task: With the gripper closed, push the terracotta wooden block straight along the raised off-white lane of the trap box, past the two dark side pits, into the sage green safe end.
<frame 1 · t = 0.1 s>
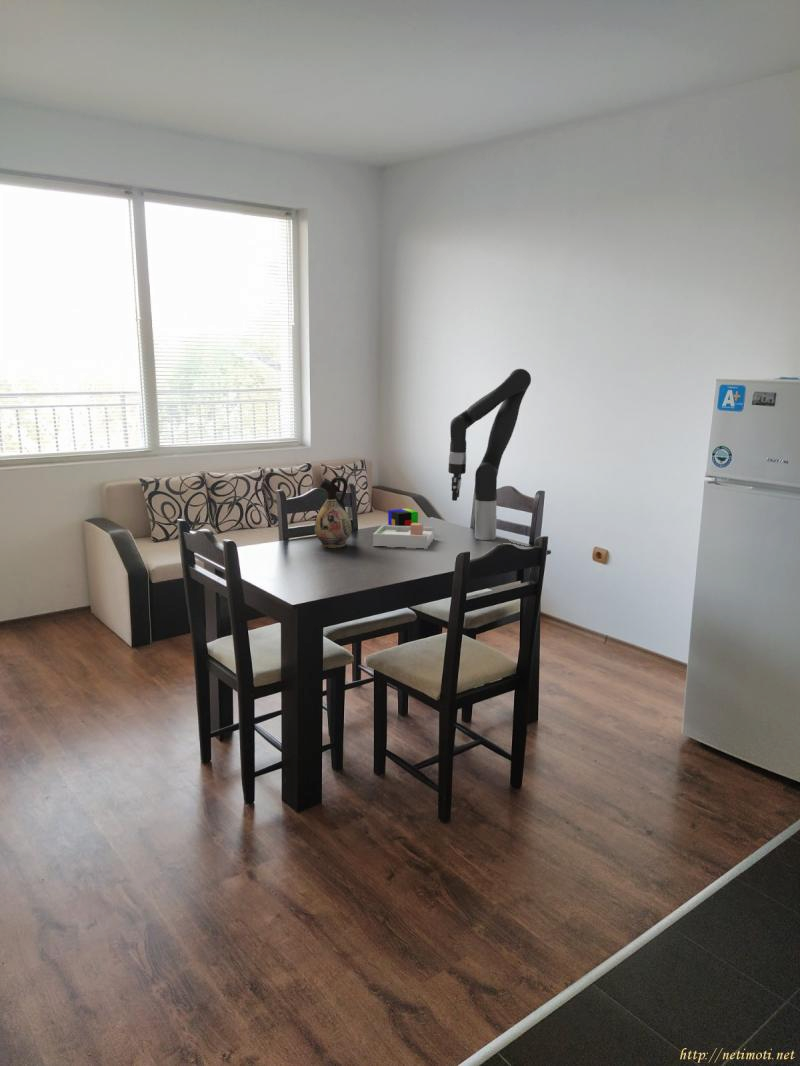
hand: (455, 498, 337), 17 cm above the table, tool pointing down, fingers open, 8 cm apart
ceramic jug: (335, 546, 324), on the table
block: (416, 534, 327), point 4 cm above the table, touching trap box
trap box: (403, 542, 329), on the table
puzzle toy: (402, 532, 350), on the table
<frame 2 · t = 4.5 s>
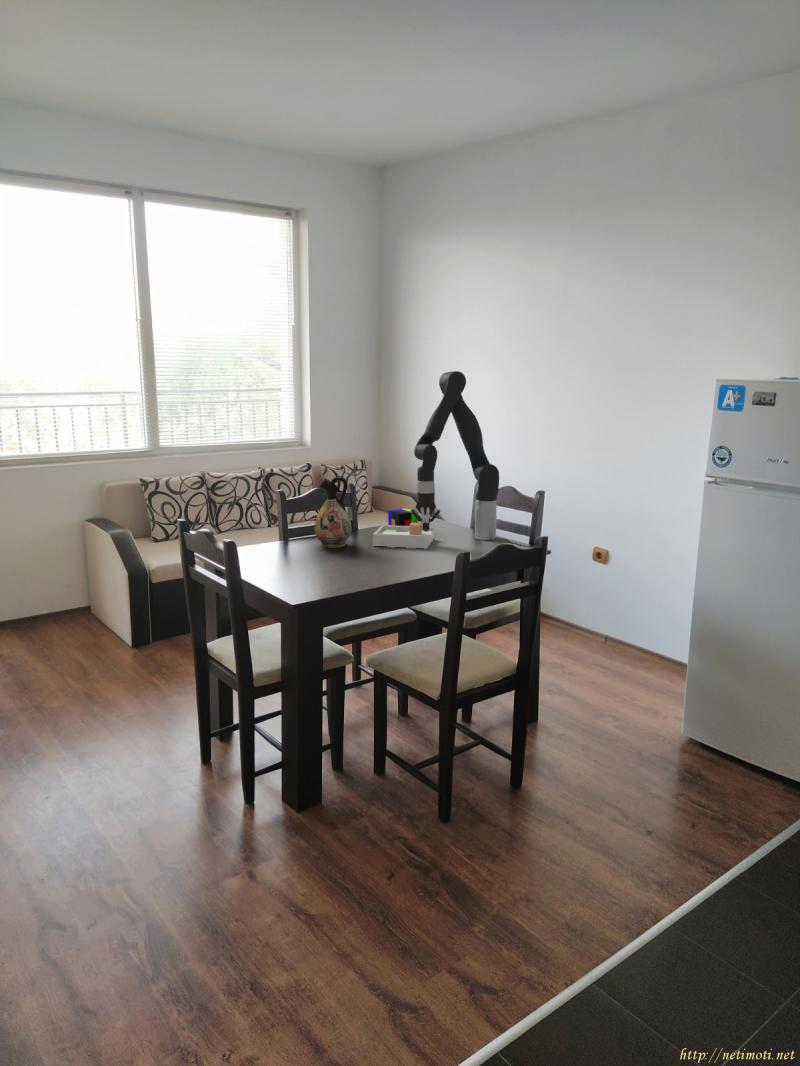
hand: (425, 531, 326), 6 cm above the table, tool pointing down, fingers closed
block: (415, 534, 328), point 4 cm above the table, touching gripper
everything else where it was.
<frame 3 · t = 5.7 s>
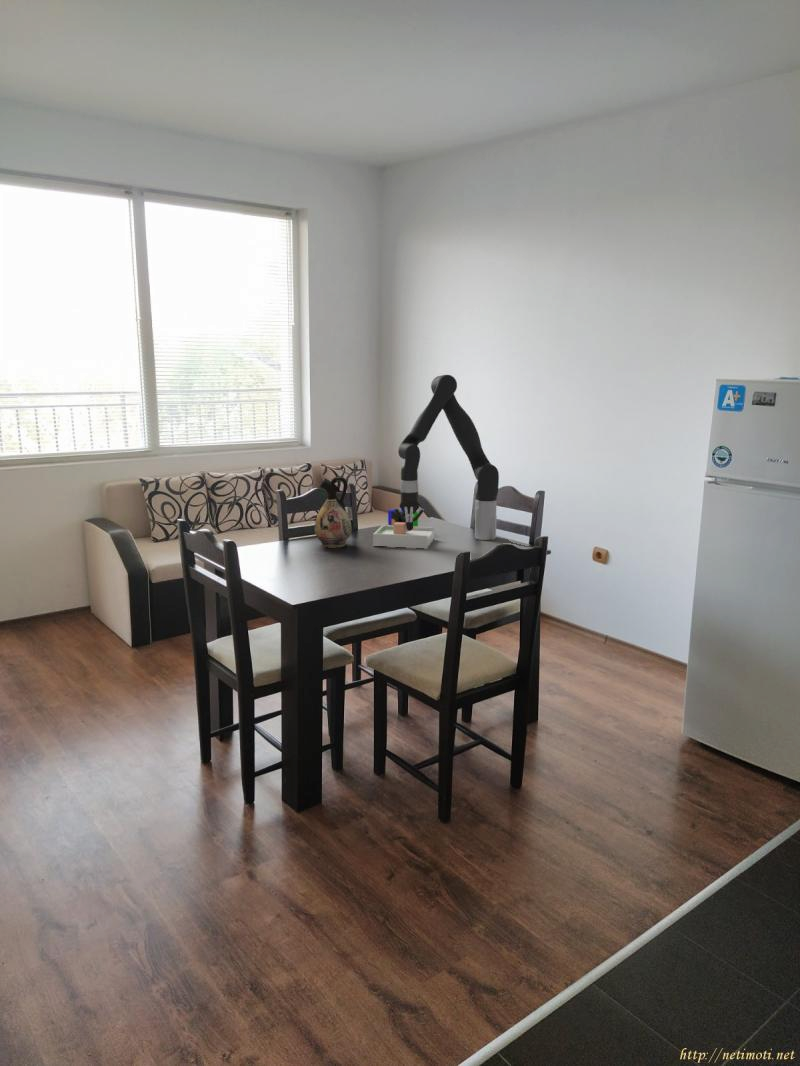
hand: (409, 530, 328), 6 cm above the table, tool pointing down, fingers closed
block: (399, 533, 329), point 4 cm above the table, touching gripper
everything else where it was.
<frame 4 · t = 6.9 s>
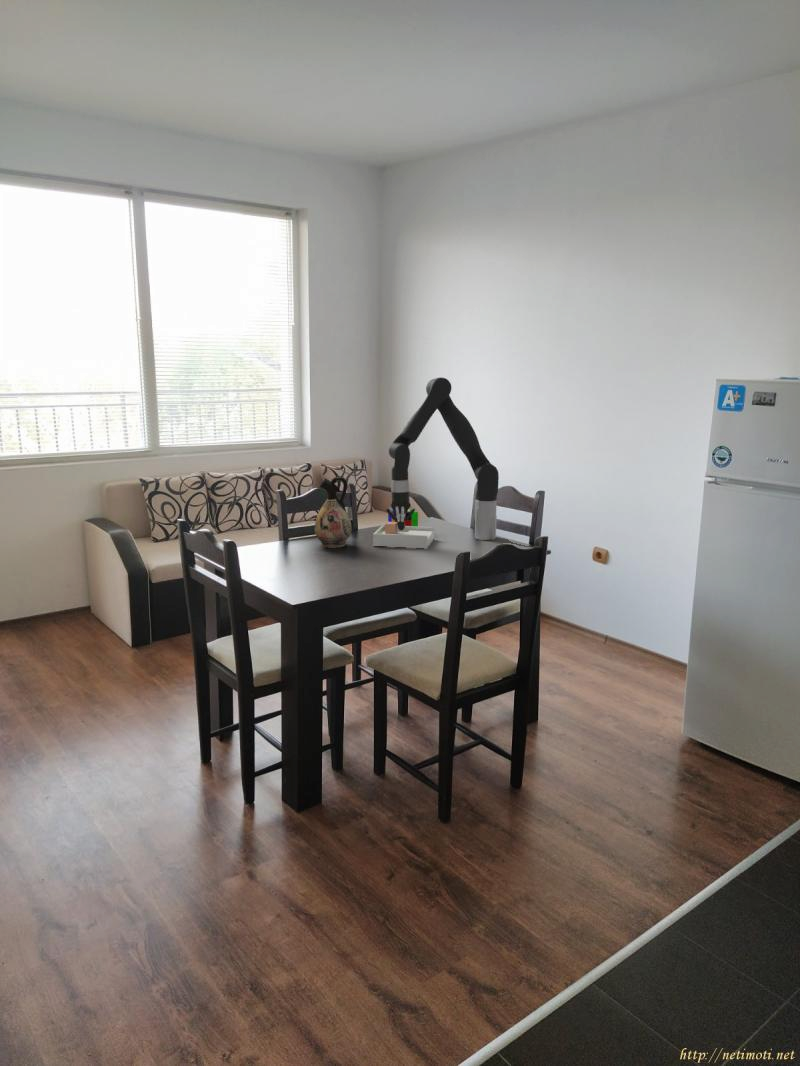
hand: (401, 530, 328), 6 cm above the table, tool pointing down, fingers closed
block: (391, 533, 330), point 4 cm above the table, touching gripper, trap box
everything else where it was.
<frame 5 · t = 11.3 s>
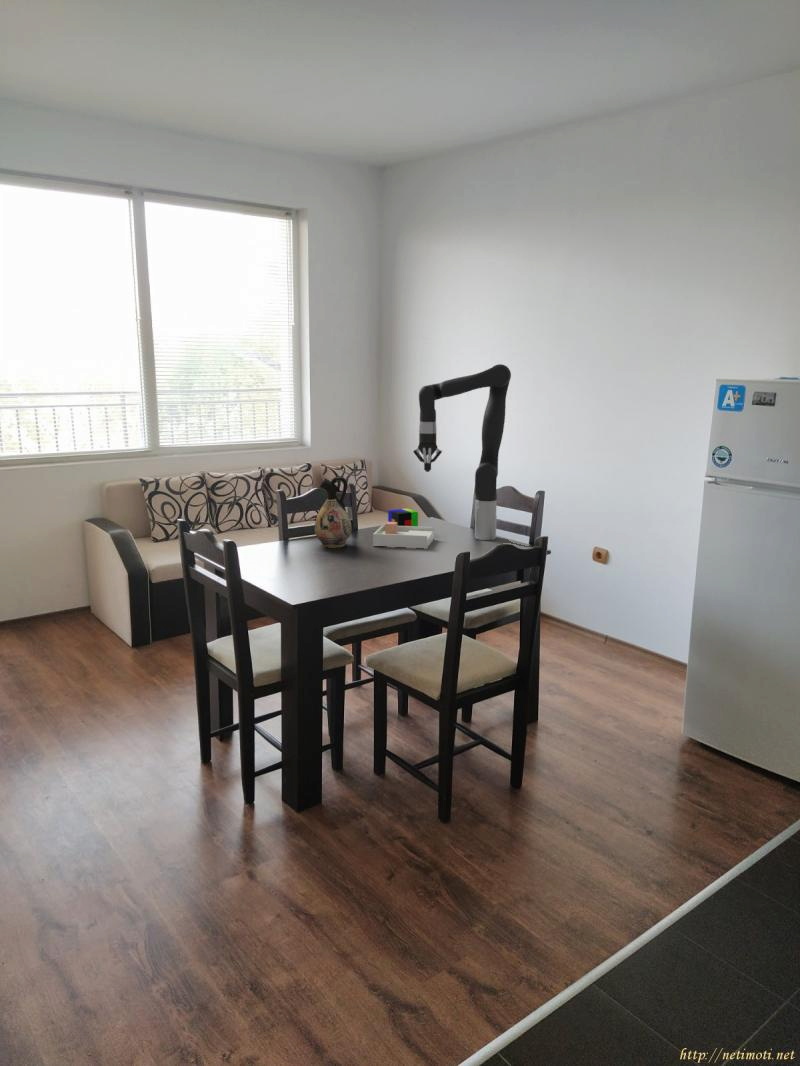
hand: (427, 471, 337), 29 cm above the table, tool pointing down, fingers closed
block: (391, 533, 330), point 4 cm above the table, touching trap box
everything else where it was.
at the end: block 2.3 cm from the target spot, point 4.0 cm above the table; block tilted 0° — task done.
